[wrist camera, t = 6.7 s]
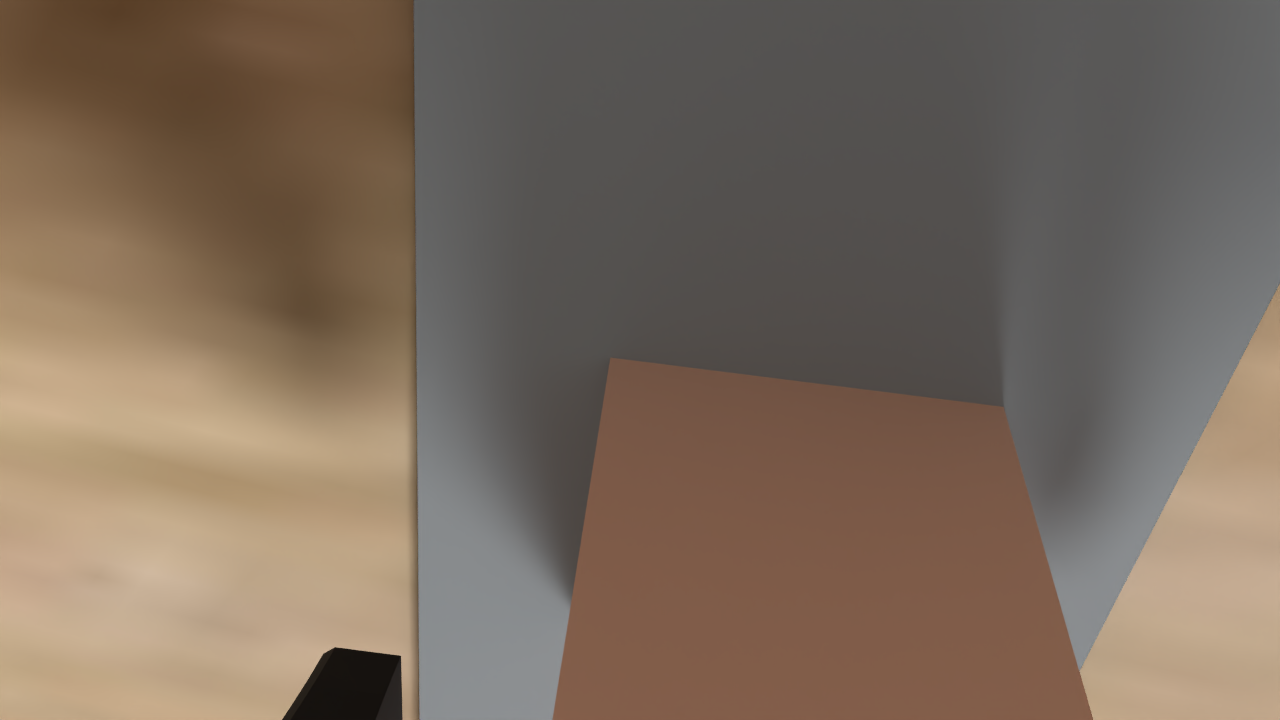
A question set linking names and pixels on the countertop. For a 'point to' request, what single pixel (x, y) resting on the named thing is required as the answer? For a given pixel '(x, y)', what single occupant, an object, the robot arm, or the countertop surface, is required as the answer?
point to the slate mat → (821, 259)
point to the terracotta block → (808, 559)
